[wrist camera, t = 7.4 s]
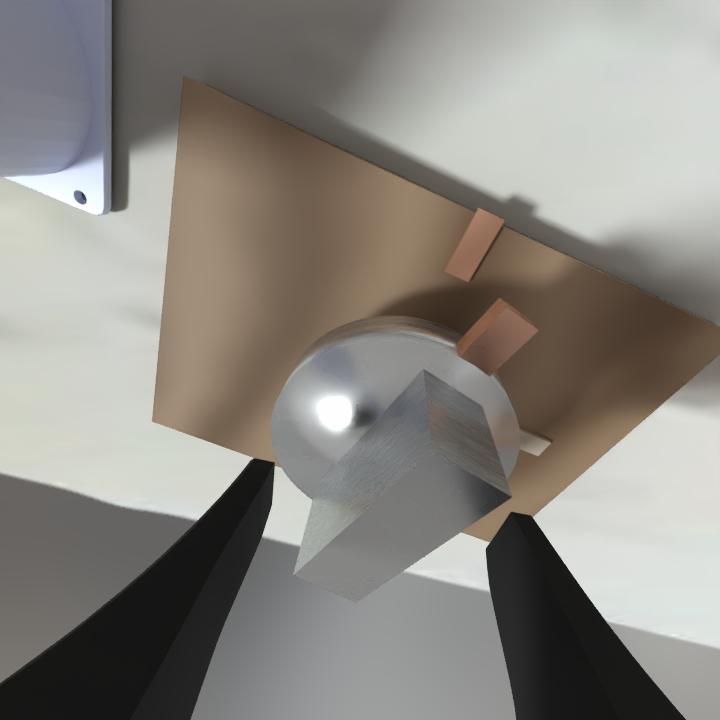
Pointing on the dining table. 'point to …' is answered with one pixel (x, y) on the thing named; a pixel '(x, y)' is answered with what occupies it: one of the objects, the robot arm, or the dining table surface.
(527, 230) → the dining table surface
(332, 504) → the cap
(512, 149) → the dining table surface
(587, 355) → the post board
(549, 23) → the dining table surface
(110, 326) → the dining table surface
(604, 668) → the robot arm
